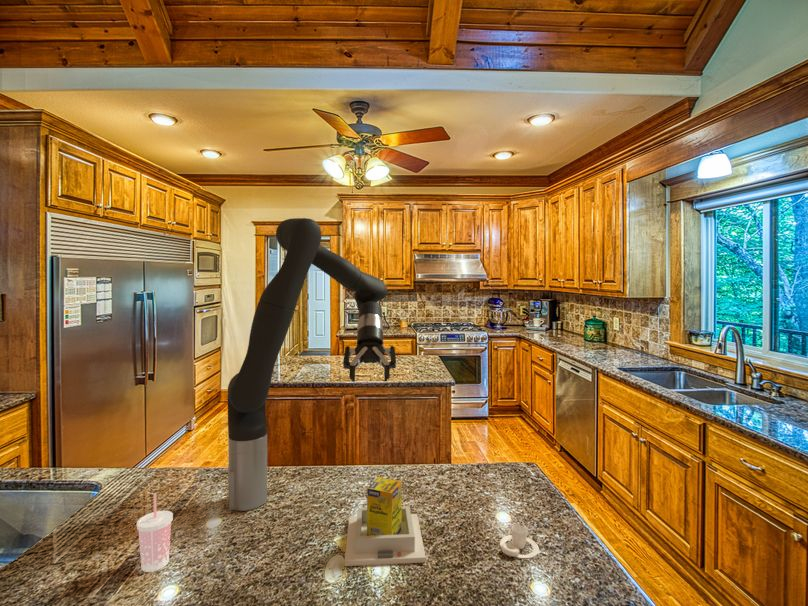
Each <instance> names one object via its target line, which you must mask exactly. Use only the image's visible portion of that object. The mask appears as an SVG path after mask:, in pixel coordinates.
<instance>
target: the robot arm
mask: <svg viewBox="0 0 808 606" xmlns="http://www.w3.org/2000/svg"><path fill="white" fill-rule="evenodd" d="M275 237H276V241H277V243H278V245H279V246H280V247H281V248H282V249H283V250H285V251H286V253H285V255H284V256H285V257H284V259H283V263H282V265H281V266H280V268H279V270H278V271H277V272H276V274H275V275H274V277H273V278H272V279H271V280H270V282H268V284H267V285H266V286H265V288H264V290H263V292H262V293H261V295H260V298H259V301H258V303H257V306H256V308H255V312H254V315H253V319H252V323H251V327H250V332H249V339H248V345H247V350H246V354H245V358H244V360H243V362H242V365H241V366H240V369H239V371H238V373H236V374H235V375H233V377H232V378H231V379H230V380H229V383H228V386H227V430H228V434H227V435H228V464H227V465H228V466H227V469H228V471H227V476H228V479H227V480H228V484H227V485H228V487H227V488H228V489H227V490H228V511H229V512H231V511H239V512H243V511H246V512H247V511H250V510H255V509H257V508H259V507H261V506H262V505H264V504H265V503H267V500H268V421H267V411H266V402H267V399H268V397H269V393H270V386H271V382H272V377H273V373H274V369H275V365H276V362H277V358H278V356H279V354H280V351H281V349H282V346H283V344H284V341H285V340H286V337H287V334H288V332H289V328H290V327H291V323H292V320H293V317H294V315H295V311H296V309H297V304H298V301H299V298H300V295H301V293H302V290H303V286H304V284H305V281H306V278H307V276H308V275H307V274H308V272H309V270H310V268H311V266H312V265H313V266H315V267H316V268H317V269H319V270H321V271H322V272H323V273H325V274H326V275H328V276H329V277H330V278H332V279H333V280H334V281H336V282H337V283H338V284H339V285H341V286H342V287H344V289H346V290H347V291H349V292H354V293H353V298H354V300H355V303H356V306H357V310H358V321H357V329H356V330H357V331H356V333H357V334H356V346H355V347H354V348H351V347H350V346H349V345H347V346H345V347H344V355H343V362H342V363H343V369H345V370H347V369H349V374H348V375H349V380H350V381H351V382H352V383H353V382H355V381H356V369H357V368H358V367H360V366H361V364H362V363H363V364H370V363H371V364H376V363H377V364H379V365H380V367H382V368H383V374H384V375H383V376H384V377H383V378H384V382H387V381H388V380H390V378H391V377H390V376H391V375H390V374H391V373H390V369H396V367H397V358H396V357H397V356H396V349H395V346H394V345H391V346H390V347H385V346H384V325H383V324H384V323H383V311H382V310H383V309H382V307H381V304H379V303H378V302H380V301H382V300H384V299H385V298H386V296H387V294H388V288H387V286H386V284H385V282H384V281H382V280H381V279H380V278H378V277H376V276H374V275H371V274H369V273H367V272H364V271H361V269H359V268H358V267H357V266H356V265H354V264H353V263H352V262H351V261H349V260H347V259H346V258H345V257H343V256H341V255H339V254H338V253H336V252H333V251H331V250H329V249H328V248H326V247H324V246H323V245H322V244H321V242H322V230H321V226H320V225H319V224H318V222H317V221H316V220H314V219H313V218H305V217H302V218H301V217H297V218H288V219H284V220H283V221H281V222H280V223H279V224H278V226H277V227H276V230H275ZM354 354H355V356H354V358H353V359H352V360H351V361H350V358H351V357H352V356H353V355H354ZM385 354H387V356H388V357H389V358H390V361H389V360H388V359H387V358H386V357H385Z"/></svg>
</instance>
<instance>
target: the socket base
mask: <svg viewBox="0 0 808 606" xmlns="http://www.w3.org/2000/svg"><path fill="white" fill-rule="evenodd" d="M401 511H402V512H401V531H400V532H399V533H398V535H377V536H367V507H357V512H356V515H350V516H349V517H348V527H347V535H346V544H345V553H344V565H343V566H344V567H354V566H356V567H357V566H374V565H375V566H376V565H377V566H378V565H379V566H380V565H381V566H382V565H399V564H401V565H402V564H418V563H419V564H420V563H421V564H422V563H426V561H427V559H426V558H427V557H426V552H425V548H424V542H423V538H422V537H423V536H422V532H421V531H422V530H421V527H420V521H419V517H418V513H411V507H410V505H405V506H404V505H402V510H401Z"/></svg>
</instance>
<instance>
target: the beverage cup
mask: <svg viewBox="0 0 808 606" xmlns="http://www.w3.org/2000/svg"><path fill="white" fill-rule="evenodd" d="M173 519H174V513H173V512H172V511H170V510H157V492H154V493H153V511H152V512H150V513H148V514H147V513H146V514H145V515H143V516H141V517H140V518H139V519H138V520H137V521H136V529H137V531H138V540H139V551H140V552H139V554H140V564H141V570H142V571H143V572H146V573H152V572H156V571H159V570H162V568H164V567H165V566H167V565H168V563H169V561H170V548H171V547H170V546H171V531H172V529H171V528H172V522H173Z"/></svg>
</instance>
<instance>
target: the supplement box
mask: <svg viewBox="0 0 808 606" xmlns="http://www.w3.org/2000/svg"><path fill="white" fill-rule="evenodd" d="M402 484H403V482H402V481H401V480H396V479H390V478H384V477H381V476H378V477H377V478H376V479H375V481H374V482H372V483H371V484H370V485H369V486H368V487H367V488H366V508H367V536H377V535H398V533H399V532H400V531H401V512H402V511H401V510H402V506H403V505H402V500H403V499H402V491H403V489H402Z"/></svg>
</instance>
